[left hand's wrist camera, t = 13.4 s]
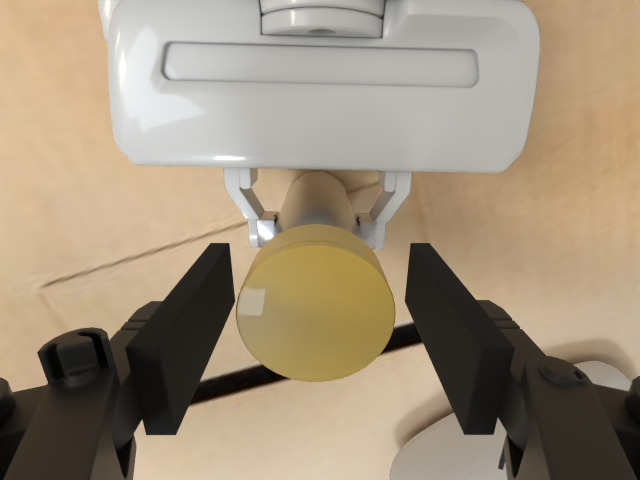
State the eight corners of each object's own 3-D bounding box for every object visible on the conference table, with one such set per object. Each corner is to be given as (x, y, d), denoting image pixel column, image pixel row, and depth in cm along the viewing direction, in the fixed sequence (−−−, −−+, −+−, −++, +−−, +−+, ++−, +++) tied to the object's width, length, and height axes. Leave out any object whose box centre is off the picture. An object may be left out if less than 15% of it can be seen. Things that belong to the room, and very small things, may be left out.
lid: (334, 195, 12) (338, 211, 10) (408, 302, 14) (424, 336, 12) (220, 272, 13) (202, 301, 11) (300, 363, 15) (297, 404, 13)
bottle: (325, 158, 25) (334, 220, 11) (359, 210, 27) (409, 326, 12) (273, 194, 26) (218, 296, 12) (309, 242, 27) (299, 387, 13)
